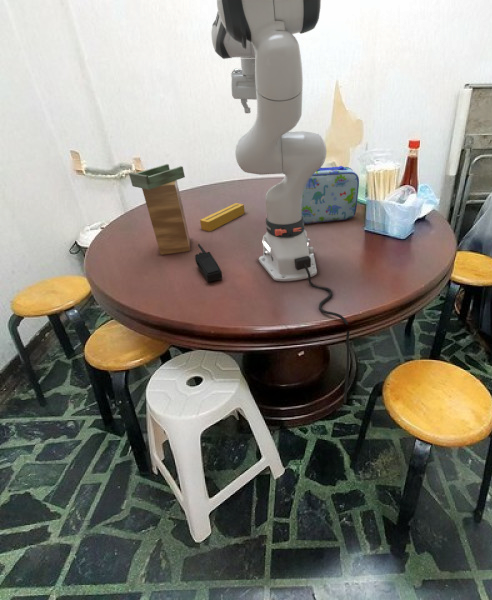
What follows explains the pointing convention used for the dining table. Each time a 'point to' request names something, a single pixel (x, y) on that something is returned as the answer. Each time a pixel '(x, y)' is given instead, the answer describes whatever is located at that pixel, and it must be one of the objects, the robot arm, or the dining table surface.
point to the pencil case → (222, 217)
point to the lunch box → (330, 195)
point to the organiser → (164, 206)
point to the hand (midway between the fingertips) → (257, 113)
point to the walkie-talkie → (208, 265)
